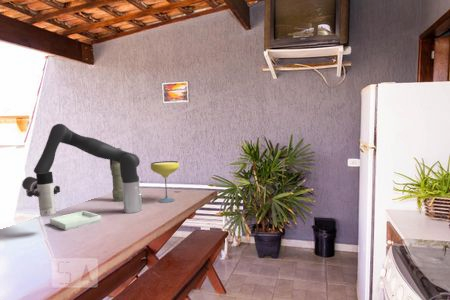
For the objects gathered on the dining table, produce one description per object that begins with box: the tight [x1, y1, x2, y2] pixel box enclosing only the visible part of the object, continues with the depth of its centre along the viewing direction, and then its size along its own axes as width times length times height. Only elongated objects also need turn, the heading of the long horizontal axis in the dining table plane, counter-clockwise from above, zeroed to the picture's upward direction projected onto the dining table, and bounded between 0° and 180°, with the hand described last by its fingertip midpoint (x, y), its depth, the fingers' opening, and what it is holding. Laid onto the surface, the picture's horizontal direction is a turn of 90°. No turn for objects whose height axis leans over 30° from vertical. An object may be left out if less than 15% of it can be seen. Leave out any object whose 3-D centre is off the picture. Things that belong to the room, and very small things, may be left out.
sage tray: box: [49, 210, 102, 231], centre depth 162 cm, size 18×18×3 cm
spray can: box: [35, 171, 57, 217], centre depth 146 cm, size 7×7×20 cm
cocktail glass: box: [150, 160, 180, 204], centre depth 204 cm, size 18×18×25 cm
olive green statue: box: [109, 147, 124, 203], centre depth 210 cm, size 9×12×35 cm
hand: (47, 193), depth 144 cm, fingers closed on spray can, 6 cm apart
